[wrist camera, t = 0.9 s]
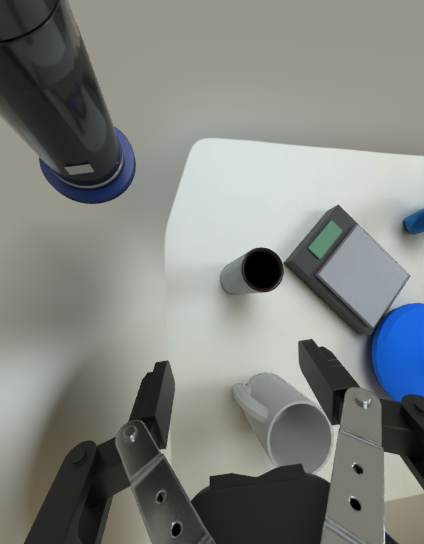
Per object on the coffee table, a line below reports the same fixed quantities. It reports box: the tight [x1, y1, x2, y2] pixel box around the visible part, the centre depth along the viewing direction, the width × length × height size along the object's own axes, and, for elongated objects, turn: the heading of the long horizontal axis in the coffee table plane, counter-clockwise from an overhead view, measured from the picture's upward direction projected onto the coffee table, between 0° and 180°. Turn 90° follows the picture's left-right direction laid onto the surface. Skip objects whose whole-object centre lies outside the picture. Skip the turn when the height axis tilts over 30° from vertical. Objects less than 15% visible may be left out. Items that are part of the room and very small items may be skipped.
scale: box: [284, 205, 410, 336], centre depth 33 cm, size 16×12×3 cm
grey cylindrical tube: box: [220, 248, 284, 294], centre depth 27 cm, size 4×4×10 cm
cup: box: [232, 373, 334, 475], centre depth 26 cm, size 7×10×9 cm
